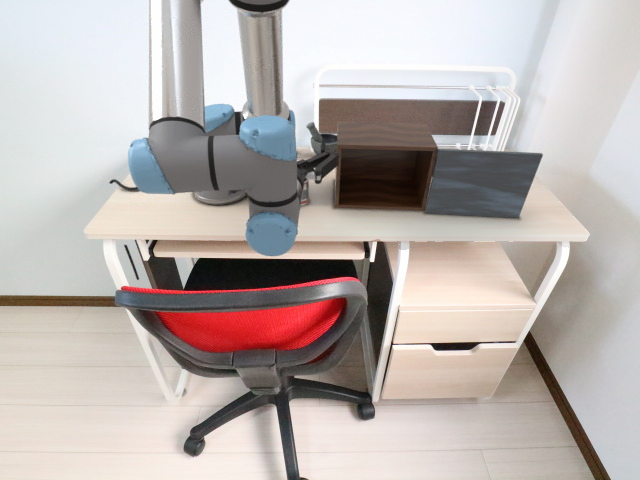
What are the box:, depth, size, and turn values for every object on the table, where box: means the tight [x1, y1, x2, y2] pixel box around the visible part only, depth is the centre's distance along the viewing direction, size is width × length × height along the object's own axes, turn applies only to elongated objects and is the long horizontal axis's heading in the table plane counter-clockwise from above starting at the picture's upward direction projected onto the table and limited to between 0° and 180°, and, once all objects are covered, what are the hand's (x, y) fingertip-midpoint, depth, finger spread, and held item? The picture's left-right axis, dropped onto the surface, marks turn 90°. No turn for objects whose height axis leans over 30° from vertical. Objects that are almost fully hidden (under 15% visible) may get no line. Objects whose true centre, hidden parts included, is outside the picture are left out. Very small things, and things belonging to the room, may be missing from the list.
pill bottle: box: [300, 179, 310, 207], centre depth 103 cm, size 6×6×10 cm
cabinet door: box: [424, 148, 544, 219], centre depth 98 cm, size 6×24×18 cm, turn 86°
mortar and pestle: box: [306, 121, 337, 155], centre depth 124 cm, size 11×9×12 cm
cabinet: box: [334, 120, 439, 212], centre depth 104 cm, size 16×24×18 cm, turn 88°
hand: (293, 143), depth 85 cm, fingers open, 13 cm apart
